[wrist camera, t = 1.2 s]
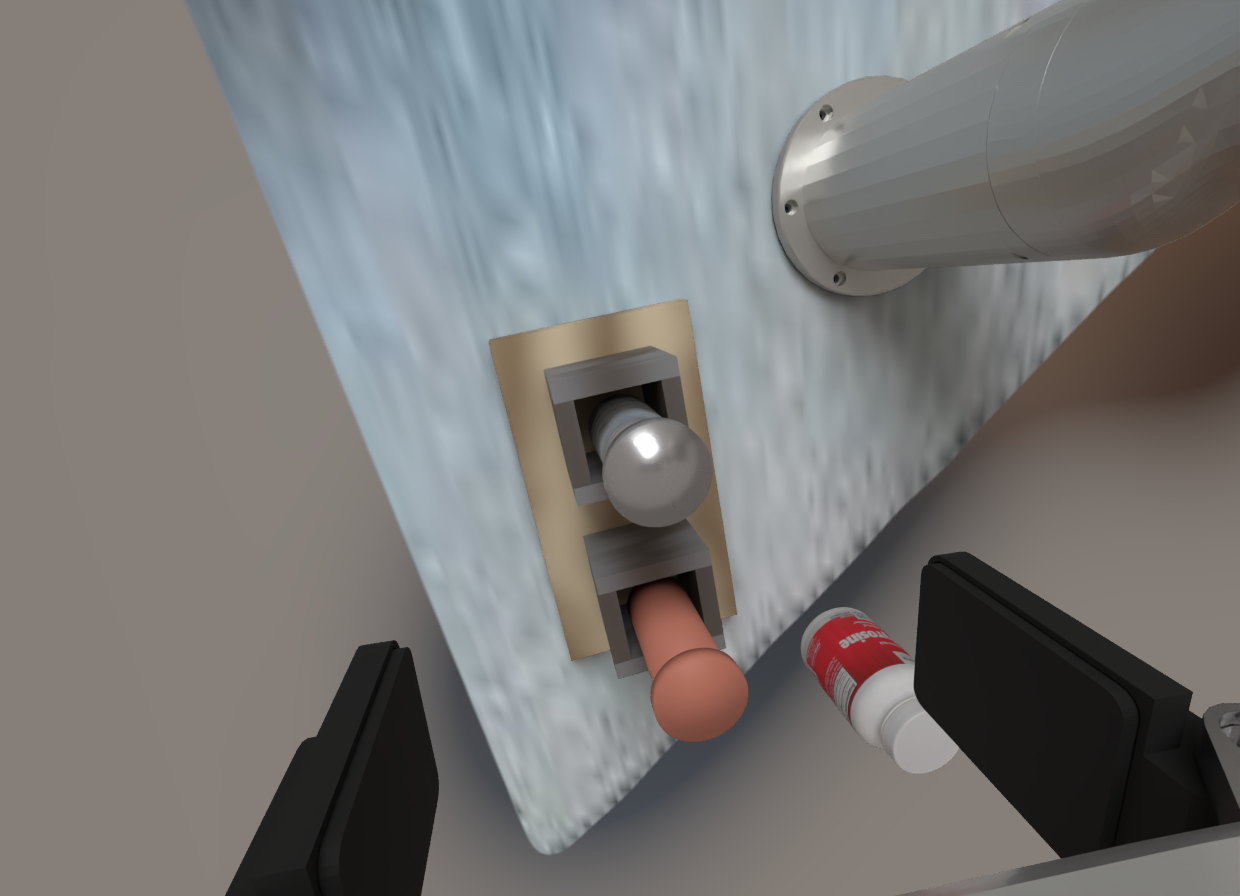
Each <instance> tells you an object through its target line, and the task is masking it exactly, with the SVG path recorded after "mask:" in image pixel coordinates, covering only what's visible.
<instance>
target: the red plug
mask: <svg viewBox="0 0 1240 896" xmlns="http://www.w3.org/2000/svg"><path fill="white" fill-rule="evenodd" d="M627 609H628V613H629V616H630V618H631V621H632V624H633V627H634V630H635V633H636V635H637V638H638V641H639V644H640V647H641V650H642V652H643V655H644V658H645V661H646V664H647V667H648V669H649V672H650V675H651V678H652V681H653V683H652V687H651V703H652V707H653V710H654V713H655V716H656V719H657V721H658V723H659V725H660V726H661V728H662V729H663V730H664V731H665V732H666V733H667V734H669V735H670V736H672V737H674V738H676V739H679V740H682V741H688V742H698V741H705V740H709V739H712V738H715V737H717V736H719V735H721V734H722V733H724V732H726V731H727V730H728V729H730V728H731V727H732V726H733V725H734V724H735V723H736V722H737V720H738V719H739V718H740V716H741V715H742V713H743V711H744V709H745V707H746V704H747V700H748V686H747V682H746V679H745V677H744V675H743V674H742V672H741V670H740V669H739V667H738V665H737V664H736V662H735V661H734V660H733V659H732V658H731V657H730V656H729V655H727V654H726V653H724V652H722V651H720V650H719V649H718V647H717V646H716V644H715V642H714V640H713V639H712V637H711V635H710V633H709V632H708V630H707V628H706V626H705V625H704V623H703V621H702V619H701V618H700V616H699V614H698V612H697V610H696V609H695V607H694V605H693V603H692V602H691V600H690V598H689V596H688V595H687V593H686V591H685V589H684V588H683V586H682V584H681V583H680V582H679V581H678V580H677V579H675V578H673V577H671V576H669V577H666V578H662V579H658V580H654V581H651V582H647V583H643V584H640V585H636V586H634V587H633V589H632V590H631V592H630V594H629V597H628V601H627Z"/></svg>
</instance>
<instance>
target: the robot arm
mask: <svg viewBox="0 0 1240 896" xmlns="http://www.w3.org/2000/svg"><path fill="white" fill-rule="evenodd" d="M819 113H820V114H821V115H822V119H821V118H820V115H819ZM1239 201H1240V0H1061V1H1059V2H1057V3H1055V4H1053V5H1051V6H1049V7H1047V8H1046V9H1044V10H1042V11H1040V12H1038V13H1036V14H1034V15H1032V16H1030V17H1029V18H1027V19H1025V20H1023V21H1021V22H1019V23H1017V24H1015V25H1013V26H1012V27H1010V28H1008V29H1006V30H1004V31H1002V32H1000V33H998V34H997V35H995V36H993V37H991V38H989V39H987V40H985V41H983V42H981V43H980V44H978V45H976V46H974V47H972V48H970V49H968V50H966V51H964V52H963V53H961V54H959V55H957V56H955V57H953V58H951V59H949V60H947V61H946V62H944V63H942V64H940V65H938V66H936V67H934V68H932V69H930V70H929V71H927V72H925V73H923V74H921V75H919V76H917V77H915V78H913V79H912V80H910V81H907V80H905V79H902V78H897V77H891V76H886V75H884V76H867V77H863V78H860V79H856V80H853V81H850V82H847V83H845V84H843V85H841V86H840V87H838V88H836V89H834V90H832V91H831V92H829V93H828V94H826V95H825V96H823V97H822V98H820V99H819V100H818V101H816V102H815V103H814V104H813V105H812V106H811V107H810V108H809V109H808V110H807V111H806V112H805V113H804V114H803V115H802V116H801V117H800V119H799V120H798V122H797V123H796V124H795V126H794V127H793V129H792V130H791V132H790V133H789V135H788V137H787V139H786V141H785V144H784V146H783V148H782V150H781V152H780V155H779V158H778V162H777V166H776V170H775V173H774V180H773V191H772V204H773V217H774V221H775V225H776V230H777V234H778V237H779V239H780V241H781V244H782V246H783V248H784V250H785V253H786V254H787V256H788V257H789V259H790V260H791V261H792V263H793V264H794V266H795V267H796V269H798V270H799V271H800V272H801V273H802V274H803V275H804V276H805V277H806V278H807V279H808V280H809V281H811V282H813V283H814V284H816V285H818V286H819V287H821V288H823V289H825V290H828V291H831V292H834V293H837V294H840V295H850V296H873V295H877V294H882V293H886V292H890V291H892V290H894V289H896V288H899V287H901V286H903V285H905V284H907V283H908V282H910V281H911V280H913V279H914V278H916V277H917V276H919V275H920V274H921V273H922V272H923V271H924V270H925V269H926V268H932V267H951V266H969V265H988V264H1007V263H1026V262H1045V261H1063V260H1081V259H1097V258H1110V257H1118V256H1125V255H1132V254H1136V253H1140V252H1144V251H1148V250H1151V249H1155V248H1158V247H1160V246H1163V245H1165V244H1168V243H1170V242H1173V241H1175V240H1177V239H1180V238H1182V237H1184V236H1186V235H1188V234H1190V233H1192V232H1194V231H1196V230H1197V229H1199V228H1201V227H1202V226H1204V225H1206V224H1207V223H1209V222H1210V221H1212V220H1213V219H1215V218H1216V217H1218V216H1220V215H1221V214H1223V213H1224V212H1226V211H1227V210H1229V209H1230V208H1231V207H1232V206H1234V205H1235V204H1236V203H1237V202H1239ZM785 205H786V206H787V207H788V212H787V213H786V212H785V209H784V208H785ZM834 276H835V277H836V279H835V281H834V280H833V279H834ZM913 685H914V692H915V695H916V698H917V700H918V702H919V704H920V705H921V706H922V708H923V709H924V710H925V711H926V712H927V713H928V714H929V715H930V716H931V717H932V719H933V720H934V721H935V722H936V723H937V724H938V725H939V726H940V727H941V728H942V729H943V730H944V732H945V733H946V734H947V735H948V736H949V737H950V738H951V739H952V740H953V741H954V742H955V744H956V745H957V746H958V747H959V748H960V749H961V750H962V751H963V752H964V753H965V754H966V755H967V757H968V758H969V759H970V760H971V761H972V762H973V763H974V764H975V765H976V766H977V767H978V769H979V770H980V771H981V772H982V773H983V774H984V775H985V776H986V777H987V778H988V779H989V780H990V782H991V783H992V784H993V785H994V786H995V787H996V788H997V789H998V790H999V791H1000V792H1001V794H1002V795H1003V796H1004V797H1005V798H1006V799H1007V800H1008V801H1009V802H1010V803H1011V804H1012V805H1013V806H1014V808H1015V809H1016V810H1017V811H1018V812H1019V813H1020V814H1021V815H1022V816H1023V817H1024V819H1025V820H1026V821H1027V822H1028V823H1029V824H1030V825H1031V826H1032V827H1033V828H1034V829H1035V830H1036V832H1037V833H1038V834H1039V835H1040V836H1041V837H1042V838H1043V839H1044V840H1045V841H1046V842H1047V843H1048V844H1049V846H1050V847H1051V848H1052V849H1053V850H1054V851H1055V852H1056V853H1057V854H1058V855H1059V857H1060V858H1061V859H1058V860H1053V861H1049V862H1044V863H1040V864H1035V865H1031V866H1026V867H1022V868H1017V869H1012V870H1008V871H1004V872H999V873H994V874H990V875H986V876H981V877H976V878H972V879H968V880H963V881H959V882H955V883H950V884H946V885H941V886H937V887H932V888H928V889H924V890H919V891H915V892H911V893H906V894H902V895H897V896H1240V703H1226V704H1225V703H1222V704H1218V705H1215V706H1212V707H1209V708H1208V709H1207V711H1206V712H1205V713H1204V714H1203V718H1202V719H1201V718H1200V717H1198V716H1197V715H1195V714H1194V713H1192V712H1191V711H1189V706H1190V702H1191V698H1192V694H1193V692H1192V691H1190V690H1189V689H1187V688H1185V687H1184V686H1182V685H1180V684H1179V683H1177V682H1176V681H1174V680H1172V679H1171V678H1169V677H1168V676H1166V675H1164V674H1163V673H1161V672H1160V671H1158V670H1156V669H1154V668H1153V667H1152V666H1150V665H1148V664H1147V663H1145V662H1144V661H1142V660H1140V659H1139V658H1137V657H1136V656H1134V655H1132V654H1130V653H1129V652H1127V651H1126V650H1124V649H1122V648H1121V647H1119V646H1118V645H1116V644H1114V643H1113V642H1111V641H1110V640H1108V639H1106V638H1105V637H1103V636H1102V635H1100V634H1098V633H1097V632H1095V631H1094V630H1092V629H1090V628H1089V627H1087V626H1086V625H1084V624H1082V623H1081V622H1079V621H1078V620H1076V619H1074V618H1073V617H1071V616H1070V615H1068V614H1066V613H1065V612H1063V611H1061V610H1060V609H1058V608H1056V607H1055V606H1053V605H1052V604H1050V603H1049V602H1047V601H1045V600H1044V599H1042V598H1040V597H1039V596H1037V595H1036V594H1034V593H1032V592H1031V591H1029V590H1028V589H1026V588H1024V587H1023V586H1021V585H1020V584H1017V583H1016V582H1015V581H1013V580H1012V579H1010V578H1008V577H1007V576H1005V575H1003V574H1002V573H1000V572H998V571H997V570H995V569H994V568H992V567H991V566H989V565H987V564H986V563H984V562H983V561H981V560H979V559H978V558H976V557H975V556H973V555H971V554H969V553H967V552H955V553H949V554H943V555H936V556H933V557H932V558H931V559H930V560H929V562H928V565H926V566H924V567H923V569H922V573H921V585H920V599H919V614H918V627H917V642H916V655H915V669H914V683H913ZM438 791H439V780H438V772H437V767H436V763H435V758H434V753H433V749H432V745H431V740H430V735H429V731H428V726H427V721H426V717H425V712H424V708H423V703H422V699H421V694H420V690H419V685H418V680H417V676H416V671H415V667H414V662H413V657H412V653H411V651H410V649H409V648H408V647H405V648H399V645H398V643H397V642H396V641H395V640H393V641H387V642H380V643H374V644H367V645H362V646H359V647H358V649H357V650H356V653H355V655H354V657H353V659H352V661H351V663H350V666H349V668H348V670H347V672H346V674H345V676H344V678H343V681H342V683H341V685H340V687H339V689H338V691H337V694H336V696H335V698H334V700H333V702H332V704H331V706H330V709H329V711H328V713H327V715H326V717H325V719H324V722H323V723H322V726H321V728H320V730H319V732H318V734H317V736H316V737H312V738H307V739H306V740H304V741H303V742H302V743H301V745H300V746H299V748H298V749H297V751H296V753H295V755H294V757H293V759H292V761H291V763H290V765H289V767H288V769H287V771H286V773H285V775H284V777H283V779H282V781H281V783H280V785H279V787H278V789H277V792H276V793H275V796H274V798H273V800H272V802H271V804H270V806H269V808H268V810H267V812H266V814H265V816H264V818H263V820H262V822H261V824H260V826H259V828H258V830H257V832H256V834H255V836H254V838H253V840H252V842H251V844H250V846H249V848H248V850H247V852H246V854H245V856H244V858H243V860H242V863H241V864H240V867H239V868H238V870H237V873H236V875H235V877H234V879H233V881H232V883H231V885H230V887H229V889H228V891H227V893H226V895H225V896H421V892H422V886H423V881H424V875H425V869H426V863H427V858H428V852H429V847H430V841H431V835H432V830H433V824H434V818H435V812H436V807H437V801H438Z"/></svg>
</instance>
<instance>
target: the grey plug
mask: <svg viewBox="0 0 1240 896" xmlns="http://www.w3.org/2000/svg"><path fill="white" fill-rule="evenodd" d="M588 431H589V436H590V439H591V441H592V443H593V445H594V447H595V449H596V451H597V453H598V455H599V457H600V459H601V461H602V463H603V467H602V477H603V484H604V487H605V490H606V492H607V494H608V497H609V499H610V501H611V503H612V504H613V506H614V508H615V509H616V510H617V511H618V512H619V513H620V514H621V515H622V516H623V517H625V518H626V519H628V520H629V521H631V522H633V523H635V524H638V525H641V526H646V527H664V526H669V525H672V524H676V523H678V522H680V521H682V520H684V519H685V518H687V517H689V516H690V515H691V514H692V513H694V512H695V511H696V510H697V509H698V508H699V506H700V505H701V504H702V503H703V501H704V499H705V498H706V496H707V494H708V492H709V489H710V486H711V483H712V477H713V465H712V459H711V455H710V453H709V450H708V448H707V446H706V445H705V443H704V442H703V440H702V439H701V438H700V437H699V436H698V435H697V434H696V433H695V432H693V431H692V430H691V429H690V428H688V427H687V426H686V425H684V424H682V423H680V422H678V421H675V420H673V419H668V418H662V417H661V416H660V415H658V414H657V413H656V412H655V411H654V410H653V409H652V408H650V407H649V406H648V405H647V404H646V403H645V402H643V401H642V400H641V399H639V398H638V397H636V396H633V395H630V394H615V395H611V396H609V397H607V398H605V399H603V400H602V401H601V402H599V403H598V405H597V406H596V407H595V408H594V410H593V411H592V413H591V416H590V419H589V424H588Z"/></svg>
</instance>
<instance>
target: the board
mask: <svg viewBox="0 0 1240 896" xmlns="http://www.w3.org/2000/svg"><path fill="white" fill-rule="evenodd" d="M489 346H490V350H491V353H492V357H493V361H494V365H495V369H496V373H497V376H498V380H499V384H500V388H501V392H502V396H503V399H504V403H505V407H506V411H507V415H508V419H509V423H510V426H511V430H512V434H513V438H514V442H515V446H516V449H517V453H518V457H519V461H520V465H521V469H522V473H523V476H524V480H525V484H526V488H527V492H528V496H529V499H530V503H531V507H532V511H533V515H534V519H535V522H536V526H537V530H538V534H539V538H540V542H541V546H542V549H543V553H544V557H545V561H546V565H547V569H548V572H549V576H550V580H551V584H552V588H553V592H554V596H555V599H556V603H557V607H558V611H559V615H560V619H561V622H562V626H563V630H564V634H565V638H566V642H567V645H568V649H569V653H570V657H571V661H573V660H576V659H580V658H583V657H587V656H591V655H594V654H598V653H601V652H605V651H608V650H611V654H612V657H613V661H614V665H615V669H616V672H617V676H618V679H620V678H623V677H627V676H630V675H634V674H637V673H641V672H644V671H648V670H649V669H648V667H647V664H646V661H645V658H644V655H643V652H642V650H641V647H640V644H639V641H638V638H637V635H636V633H635V630H634V627H633V624H632V621H631V618H630V616H629V613H628V609H627V601H628V597H629V594H630V592H631V590H632V589H633V587H634V586H636V585H640V584H643V583H647V582H651V581H654V580H658V579H662V578H666V577H669V576H671V577H673V578H675V579H677V580H678V581H679V582H680V583H681V584H682V586H683V588H684V589H685V591H686V593H687V595H688V596H689V598H690V600H691V602H692V603H693V605H694V607H695V609H696V610H697V612H698V614H699V616H700V618H701V619H702V621H703V623H704V625H705V626H706V628H707V630H708V632H709V633H710V635H711V637H712V639H713V640H714V642H715V644H716V646H717V647H718V649H719V650H721V649H725V648H726V646H725V640H724V634H723V628H722V622H721V619H723V618H726V617H730V616H733V615H737V610H736V604H735V598H734V591H733V585H732V579H731V572H730V566H729V560H728V553H727V547H726V541H725V534H724V528H723V522H722V515H721V509H720V503H719V496H718V490H717V484H716V477H715V471H714V464H713V458H712V452H711V445H710V439H709V433H708V426H707V420H706V414H705V407H704V401H703V395H702V388H701V382H700V376H699V369H698V363H697V357H696V350H695V344H694V338H693V331H692V325H691V319H690V312H689V306H688V300H685V299H677V300H672V301H668V302H663V303H658V304H654V305H649V306H644V307H639V308H635V309H630V310H625V311H621V312H616V313H611V314H607V315H602V316H597V317H593V318H588V319H583V320H579V321H574V322H569V323H565V324H560V325H555V326H551V327H546V328H541V329H537V330H532V331H527V332H523V333H518V334H513V335H509V336H504V337H499V338H495V339H490V341H489ZM615 394H630V395H633V396H636V397H638V398H639V399H641V400H642V401H643V402H645V403H646V404H647V405H648V406H649V407H650V408H652V409H653V410H654V411H655V412H656V413H657V414H658V415H660V416H661V417H662V418H668V419H673V420H675V421H678V422H680V423H682V424H684V425H686V426H687V427H688V428H690V429H691V430H692V431H693V432H695V433H696V434H697V435H698V436H699V437H700V438H701V439H702V440H703V442H704V443H705V445H706V446H707V448H708V450H709V453H710V455H711V459H712V465H713V477H712V483H711V486H710V489H709V492H708V494H707V496H706V498H705V499H704V501H703V503H702V504H701V505H700V506H699V508H698V509H697V510H696V511H695V512H694V513H692V514H691V515H690V516H689V517H687V518H685V519H684V520H682V521H680V522H678V523H676V524H672V525H669V526H664V527H646V526H641V525H638V524H635V523H633V522H631V521H629V520H628V519H626V518H625V517H623V516H622V515H621V514H620V513H619V512H618V511H617V510H616V509H615V508H614V506H613V504H612V503H611V501H610V499H609V497H608V494H607V492H606V490H605V487H604V484H603V477H602V467H603V463H602V461H601V459H600V457H599V455H598V453H597V451H596V449H595V447H594V445H593V443H592V441H591V439H590V436H589V431H588V424H589V419H590V416H591V413H592V411H593V410H594V408H595V407H596V406H597V405H598V403H599V402H601V401H602V400H603V399H605V398H607V397H609V396H611V395H615Z"/></svg>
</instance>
